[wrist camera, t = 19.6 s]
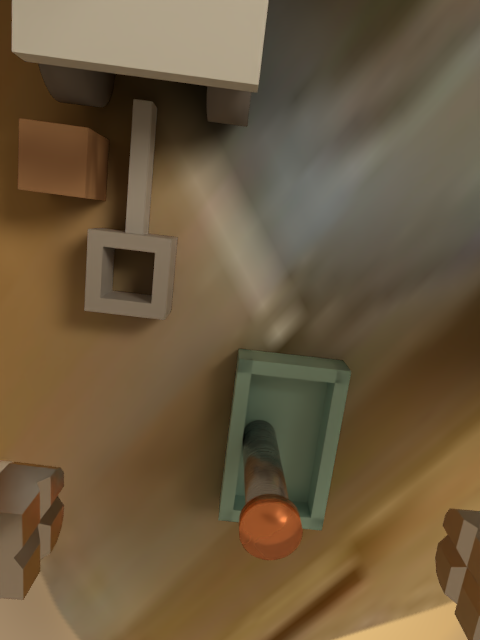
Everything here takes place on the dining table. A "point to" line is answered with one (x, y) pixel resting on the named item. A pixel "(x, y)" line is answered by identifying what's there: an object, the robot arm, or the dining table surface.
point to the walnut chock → (62, 160)
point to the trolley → (149, 62)
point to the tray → (287, 426)
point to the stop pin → (266, 497)
